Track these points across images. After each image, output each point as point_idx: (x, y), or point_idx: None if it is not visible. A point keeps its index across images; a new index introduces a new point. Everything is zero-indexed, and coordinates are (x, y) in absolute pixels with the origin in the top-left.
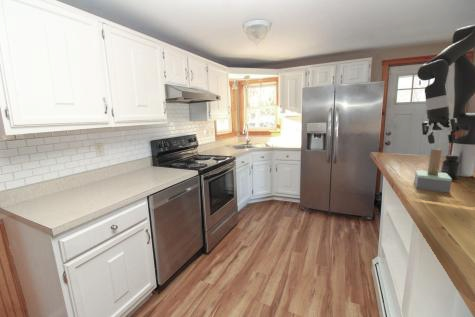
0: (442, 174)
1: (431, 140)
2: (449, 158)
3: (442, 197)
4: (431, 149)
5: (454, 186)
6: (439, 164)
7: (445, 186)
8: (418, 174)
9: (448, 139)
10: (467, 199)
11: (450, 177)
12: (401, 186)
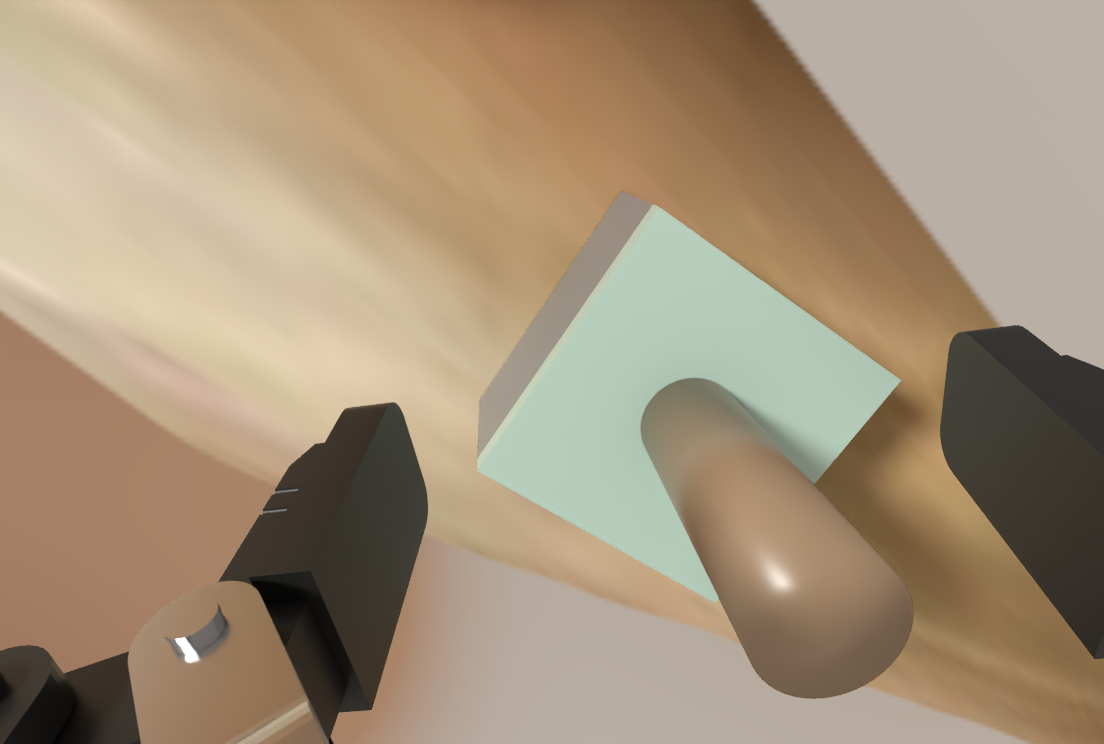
0: (718, 321)
1: (402, 542)
2: None
3: None
4: (785, 689)
5: (580, 12)
6: (783, 451)
7: None
8: (683, 579)
9: (995, 527)
10: (931, 267)
11: (849, 344)
12: (546, 554)
